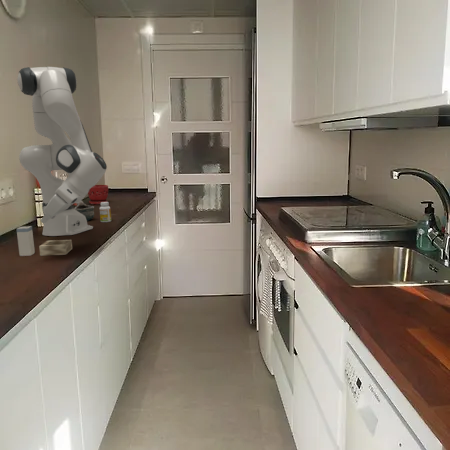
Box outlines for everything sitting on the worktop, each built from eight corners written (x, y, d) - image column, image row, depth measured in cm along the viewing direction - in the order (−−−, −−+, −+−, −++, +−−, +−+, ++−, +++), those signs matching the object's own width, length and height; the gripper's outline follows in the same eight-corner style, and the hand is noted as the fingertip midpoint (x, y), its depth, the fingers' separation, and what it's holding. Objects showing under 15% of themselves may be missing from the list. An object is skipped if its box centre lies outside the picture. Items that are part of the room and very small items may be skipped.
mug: (81, 222, 226) (79, 203, 224) (69, 220, 234) (67, 201, 232) (98, 220, 233) (97, 200, 231) (85, 217, 241) (84, 199, 239)
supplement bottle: (107, 220, 232) (105, 201, 230) (113, 221, 228) (112, 202, 227) (98, 221, 228) (96, 202, 226) (104, 222, 224) (103, 203, 222)
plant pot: (98, 205, 285) (96, 186, 283) (84, 204, 293) (82, 185, 290) (113, 202, 296) (112, 184, 294) (99, 201, 303) (98, 183, 301)
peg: (34, 252, 167) (31, 226, 165) (31, 255, 163) (27, 228, 161) (23, 253, 167) (20, 226, 165) (19, 255, 163) (16, 228, 161)
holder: (72, 248, 172) (71, 239, 171) (65, 254, 163) (64, 245, 162) (48, 249, 171) (47, 240, 171) (40, 255, 163) (39, 246, 162)
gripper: (72, 183, 172) (49, 209, 173) (56, 188, 152) (29, 218, 153) (85, 194, 173) (62, 220, 174) (71, 201, 153) (44, 231, 154)
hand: (46, 219), depth 163 cm, fingers open, 8 cm apart
